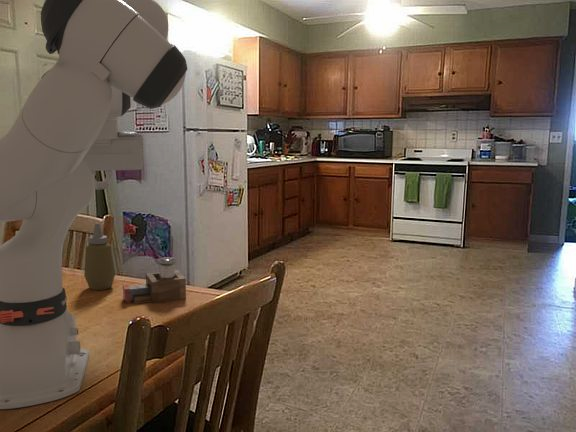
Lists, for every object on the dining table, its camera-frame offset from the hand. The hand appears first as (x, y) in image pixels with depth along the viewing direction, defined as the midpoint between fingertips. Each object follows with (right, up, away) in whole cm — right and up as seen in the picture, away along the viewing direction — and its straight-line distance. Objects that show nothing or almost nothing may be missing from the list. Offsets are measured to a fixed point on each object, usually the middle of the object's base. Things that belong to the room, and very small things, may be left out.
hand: (101, 189), depth 124 cm
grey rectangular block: (+7, -28, +9) cm, 30 cm away
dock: (+11, -28, +11) cm, 32 cm away
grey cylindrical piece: (+14, -28, +11) cm, 33 cm away
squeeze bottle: (-7, -27, +18) cm, 32 cm away
